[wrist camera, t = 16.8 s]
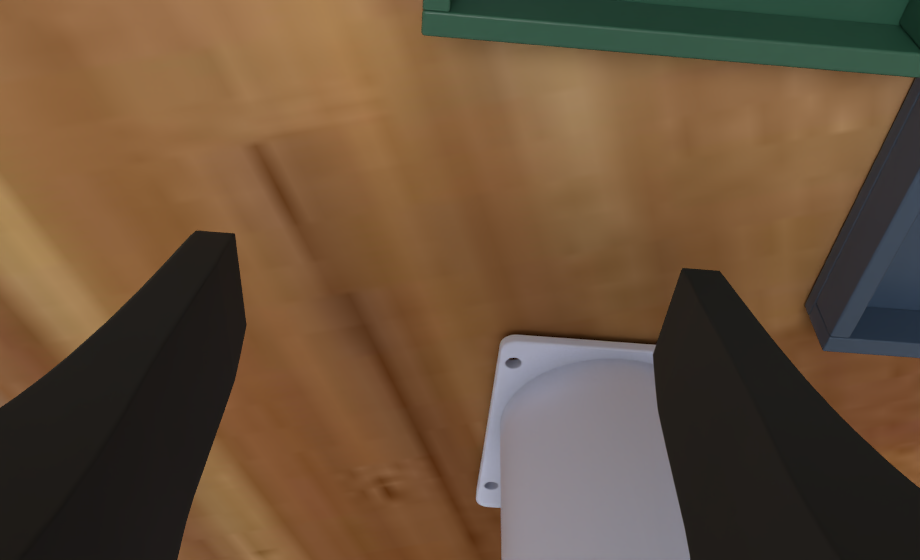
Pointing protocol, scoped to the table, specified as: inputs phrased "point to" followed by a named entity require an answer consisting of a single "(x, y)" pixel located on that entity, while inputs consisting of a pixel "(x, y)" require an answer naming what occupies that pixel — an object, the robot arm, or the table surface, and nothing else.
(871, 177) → the slate tray
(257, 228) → the table surface
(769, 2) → the green tray
